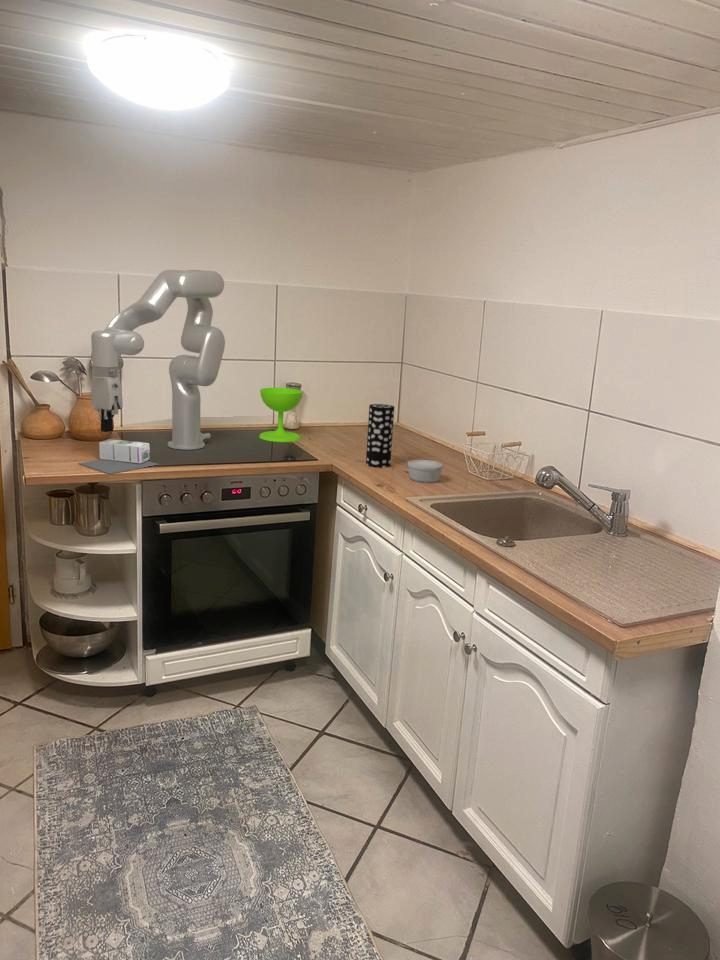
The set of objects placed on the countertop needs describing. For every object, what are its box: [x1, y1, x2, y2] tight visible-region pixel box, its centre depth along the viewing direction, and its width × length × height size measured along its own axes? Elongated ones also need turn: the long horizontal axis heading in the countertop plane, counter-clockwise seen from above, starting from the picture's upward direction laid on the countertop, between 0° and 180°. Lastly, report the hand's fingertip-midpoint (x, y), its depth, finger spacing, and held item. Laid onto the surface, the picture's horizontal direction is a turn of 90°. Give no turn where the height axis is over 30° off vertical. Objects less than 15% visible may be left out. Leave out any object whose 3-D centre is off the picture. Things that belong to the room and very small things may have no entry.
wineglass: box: [258, 387, 303, 443], centre depth 284 cm, size 16×16×18 cm
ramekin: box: [407, 459, 443, 484], centre depth 236 cm, size 11×11×5 cm
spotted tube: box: [365, 403, 395, 469], centre depth 250 cm, size 8×8×20 cm
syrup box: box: [98, 438, 151, 464], centre depth 236 cm, size 6×6×14 cm
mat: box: [78, 459, 160, 475], centre depth 232 cm, size 18×16×1 cm
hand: (106, 431), depth 233 cm, fingers closed
